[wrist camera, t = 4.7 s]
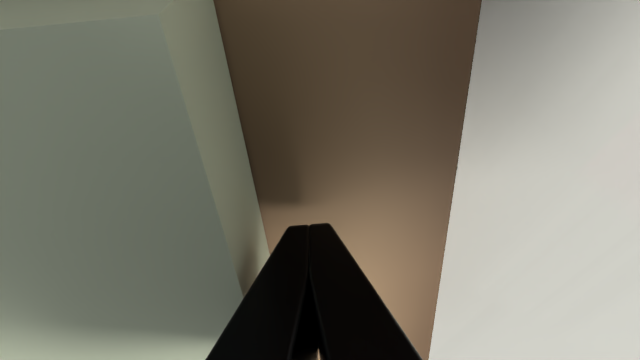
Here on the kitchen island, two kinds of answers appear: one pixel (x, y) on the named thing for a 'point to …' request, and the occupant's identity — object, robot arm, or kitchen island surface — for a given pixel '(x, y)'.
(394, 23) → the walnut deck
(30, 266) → the sage tile
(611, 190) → the kitchen island surface
